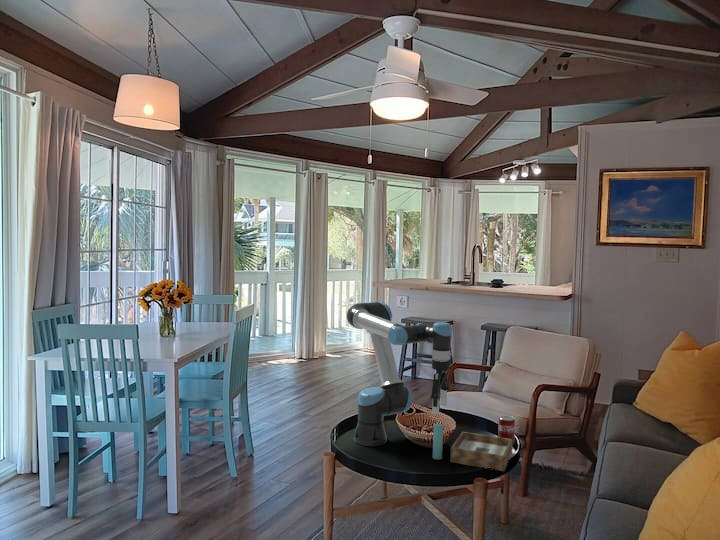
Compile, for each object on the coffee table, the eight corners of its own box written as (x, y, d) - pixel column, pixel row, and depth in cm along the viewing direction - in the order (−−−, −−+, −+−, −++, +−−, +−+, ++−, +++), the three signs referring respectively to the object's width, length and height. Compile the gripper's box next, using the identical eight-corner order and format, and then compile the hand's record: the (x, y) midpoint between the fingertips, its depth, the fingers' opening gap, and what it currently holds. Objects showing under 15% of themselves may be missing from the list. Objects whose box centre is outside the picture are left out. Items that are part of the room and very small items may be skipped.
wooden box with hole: (450, 461, 231) (450, 447, 231) (461, 444, 252) (462, 431, 251) (504, 471, 223) (504, 456, 223) (511, 452, 243) (512, 439, 243)
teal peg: (431, 458, 234) (432, 425, 234) (434, 455, 238) (435, 423, 237) (440, 460, 233) (441, 427, 232) (443, 456, 237) (444, 424, 236)
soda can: (514, 447, 250) (515, 421, 249) (498, 445, 251) (499, 419, 250) (513, 441, 257) (514, 416, 256) (497, 440, 258) (498, 414, 258)
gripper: (442, 366, 221) (441, 419, 222) (456, 355, 244) (454, 402, 245) (424, 364, 223) (422, 416, 225) (439, 353, 246) (438, 400, 248)
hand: (439, 409), depth 235 cm, fingers open, 13 cm apart
